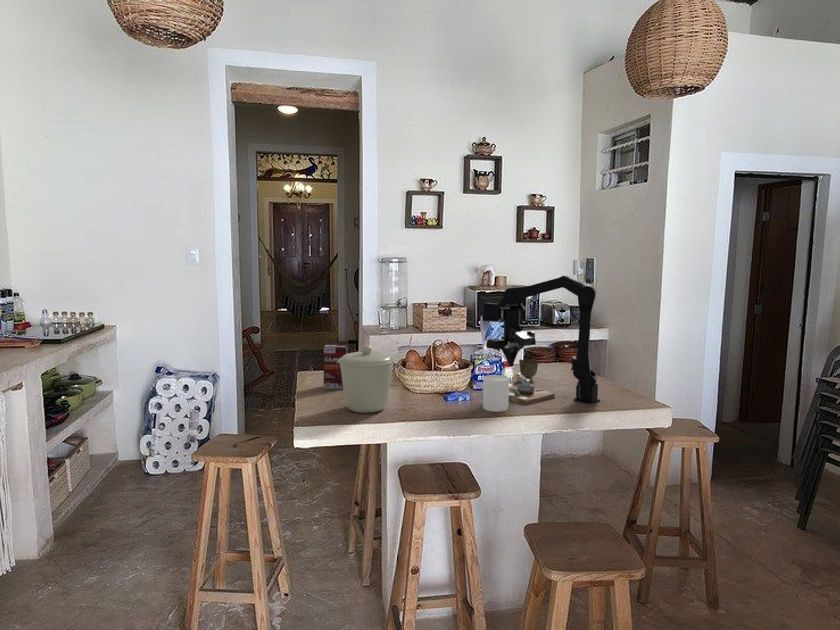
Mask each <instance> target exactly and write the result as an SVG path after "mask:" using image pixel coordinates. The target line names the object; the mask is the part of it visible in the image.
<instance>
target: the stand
mask: <svg viewBox="0 0 840 630" xmlns="http://www.w3.org/2000/svg"><path fill="white" fill-rule="evenodd" d="M555 398H556V393H554V392H550V391H548V390H547V391H546V390H544V389H543V388H535V387H534V393H533V394H521V393H520V392H518V391H517V385H516V386H512V387H511V386H510V387H509V399H508V401H511V402H513V403H514V402H515V403H519V404H521V405H525V406H527V405H530V404H535V403H540V402H543V401H547V400H551V399H555Z"/></svg>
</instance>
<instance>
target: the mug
mask: <svg viewBox="0 0 840 630" xmlns="http://www.w3.org/2000/svg"><path fill="white" fill-rule="evenodd" d="M509 386H510V377H508V376H507V375H501V374H489V375H488V374H487V375H485V376H483V382H482V408H483V410H485V411H487V412H493V413H498V412H499V413H501V412H507V410H509V400H508V399H509V388H510V387H509Z"/></svg>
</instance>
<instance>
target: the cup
mask: <svg viewBox="0 0 840 630" xmlns="http://www.w3.org/2000/svg"><path fill="white" fill-rule="evenodd" d="M518 363H519V370H520V371H519V373H520V374H521V375H522V376H523V377H525V378H527V379H530V382H531V381H533V380H534V377H535V376H536V374H537V372H538V367H539V361H538V359H537V360H536V359H531V360H530V358H526V359H524V358H522V359H519V360H518Z"/></svg>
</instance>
